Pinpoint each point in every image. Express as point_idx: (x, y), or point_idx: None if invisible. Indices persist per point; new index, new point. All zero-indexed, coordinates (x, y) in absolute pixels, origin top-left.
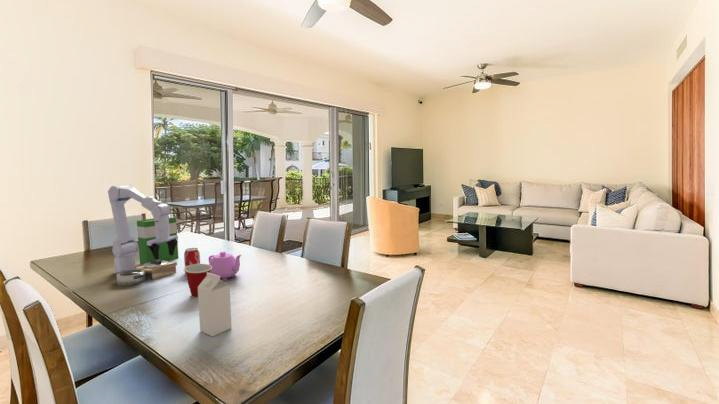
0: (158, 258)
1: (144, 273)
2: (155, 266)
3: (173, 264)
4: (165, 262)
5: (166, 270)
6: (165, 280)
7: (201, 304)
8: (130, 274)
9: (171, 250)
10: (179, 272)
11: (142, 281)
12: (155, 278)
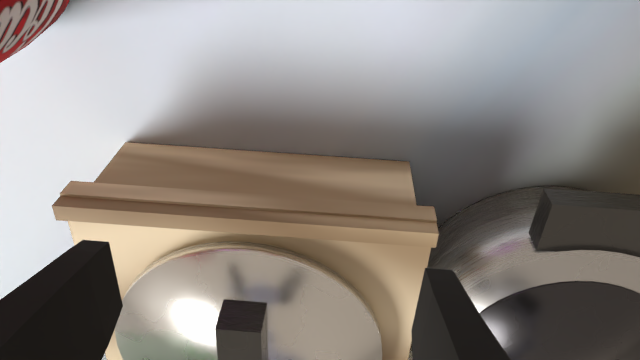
0: (432, 275)
1: (480, 262)
2: (336, 283)
3: (115, 200)
4: (159, 304)
5: (234, 182)
6: (389, 5)
7: None
8: (630, 317)
9: (50, 344)
10: (104, 106)
11: (518, 195)
12: (387, 162)
